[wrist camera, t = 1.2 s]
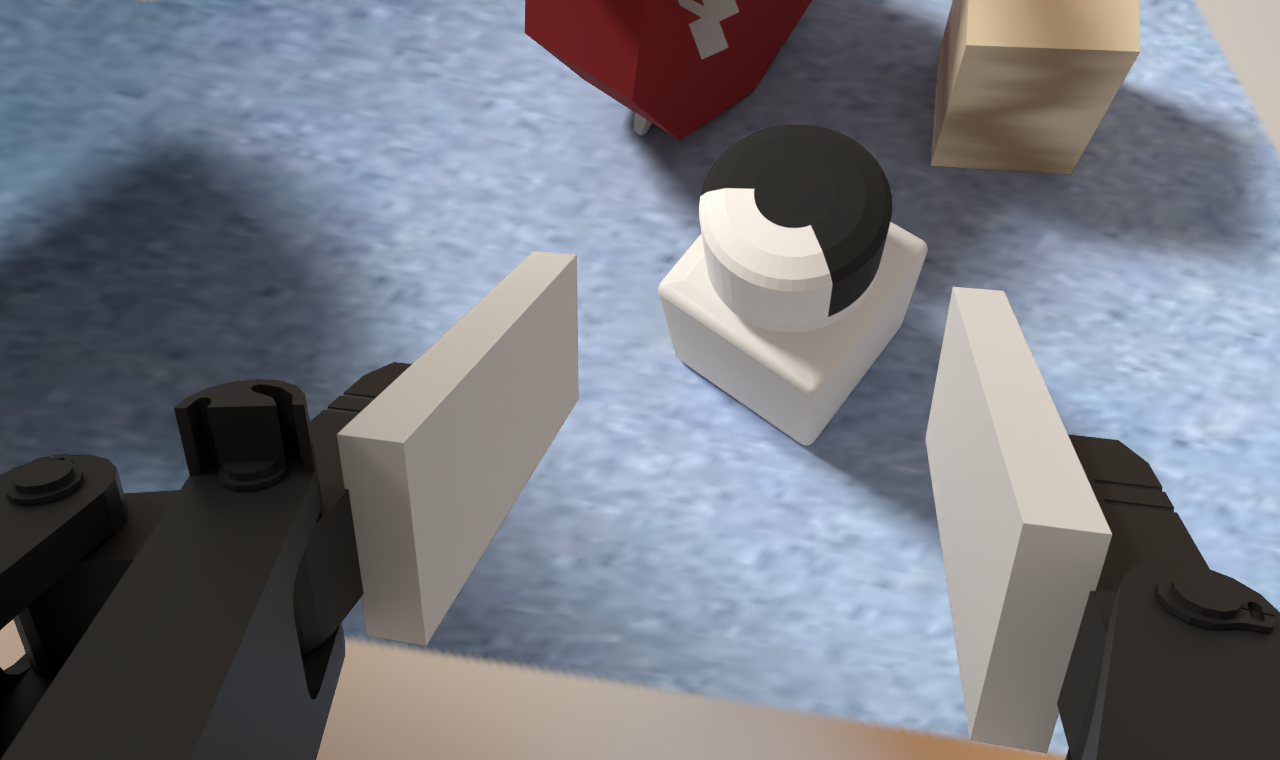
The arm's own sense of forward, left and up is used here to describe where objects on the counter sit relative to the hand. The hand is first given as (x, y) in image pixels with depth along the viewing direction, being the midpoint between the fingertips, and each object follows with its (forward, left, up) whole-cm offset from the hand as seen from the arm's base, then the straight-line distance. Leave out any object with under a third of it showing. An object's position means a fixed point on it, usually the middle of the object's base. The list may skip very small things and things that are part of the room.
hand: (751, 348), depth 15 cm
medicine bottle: (-2, +9, -23) cm, 25 cm away
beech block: (+3, +23, -22) cm, 32 cm away
